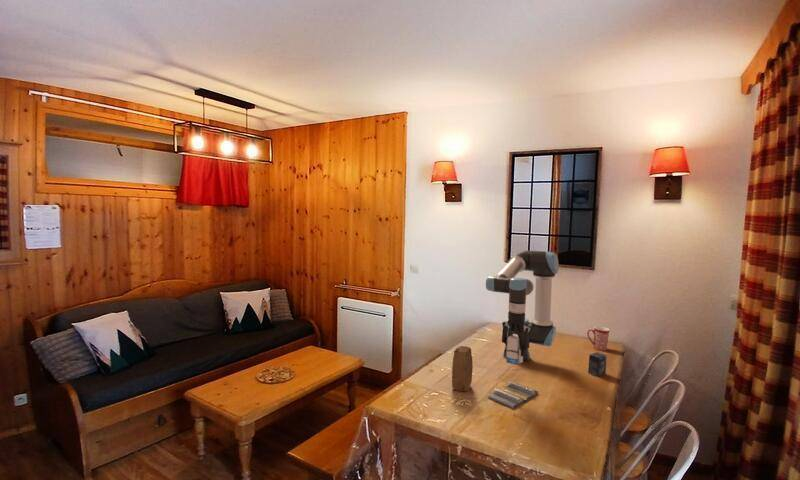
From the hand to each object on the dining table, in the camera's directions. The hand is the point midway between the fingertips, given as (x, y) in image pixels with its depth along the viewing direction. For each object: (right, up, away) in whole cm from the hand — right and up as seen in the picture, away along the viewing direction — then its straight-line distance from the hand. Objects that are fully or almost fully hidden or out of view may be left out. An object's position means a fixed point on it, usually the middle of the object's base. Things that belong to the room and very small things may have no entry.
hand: (514, 360), depth 181 cm
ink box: (0, -1, 0) cm, 1 cm away
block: (-23, -16, +8) cm, 29 cm away
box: (+54, -17, +30) cm, 63 cm away
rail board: (0, -17, +1) cm, 17 cm away
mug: (+74, -14, +70) cm, 104 cm away
